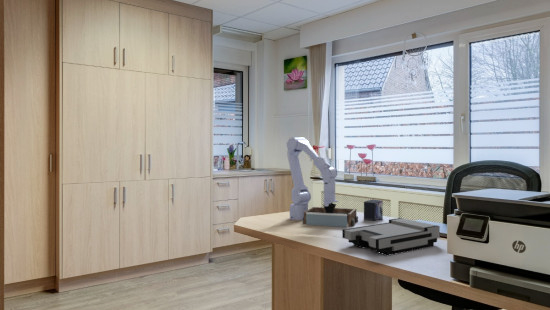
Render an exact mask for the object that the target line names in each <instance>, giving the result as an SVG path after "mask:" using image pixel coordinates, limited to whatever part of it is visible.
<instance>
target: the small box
mask: <svg viewBox="0 0 550 310" xmlns="http://www.w3.org/2000/svg"><path fill="white" fill-rule="evenodd" d="M383 202H384V201H383V200H381V199H373V198H372V199H369V200H365V201H363V220H364V221H369V222H370V221H371V222H377V221H383V220H384V219H383V218H384V217H383V215H384V214H383V212H384V208H383V206H384V203H383Z"/></svg>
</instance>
